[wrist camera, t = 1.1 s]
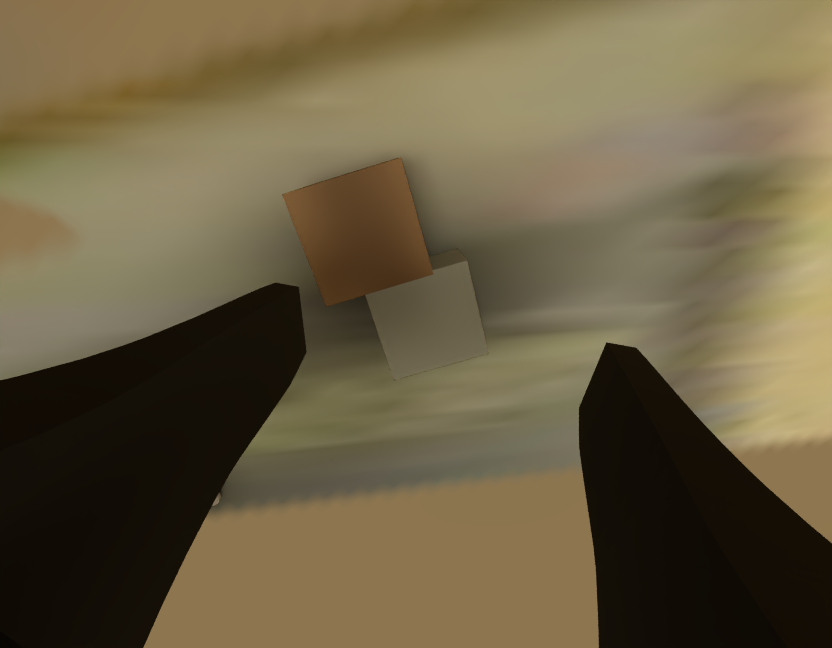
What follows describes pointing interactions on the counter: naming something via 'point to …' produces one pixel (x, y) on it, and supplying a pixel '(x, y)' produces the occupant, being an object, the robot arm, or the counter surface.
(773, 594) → the robot arm
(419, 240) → the walnut block
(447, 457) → the counter surface
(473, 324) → the slate block
